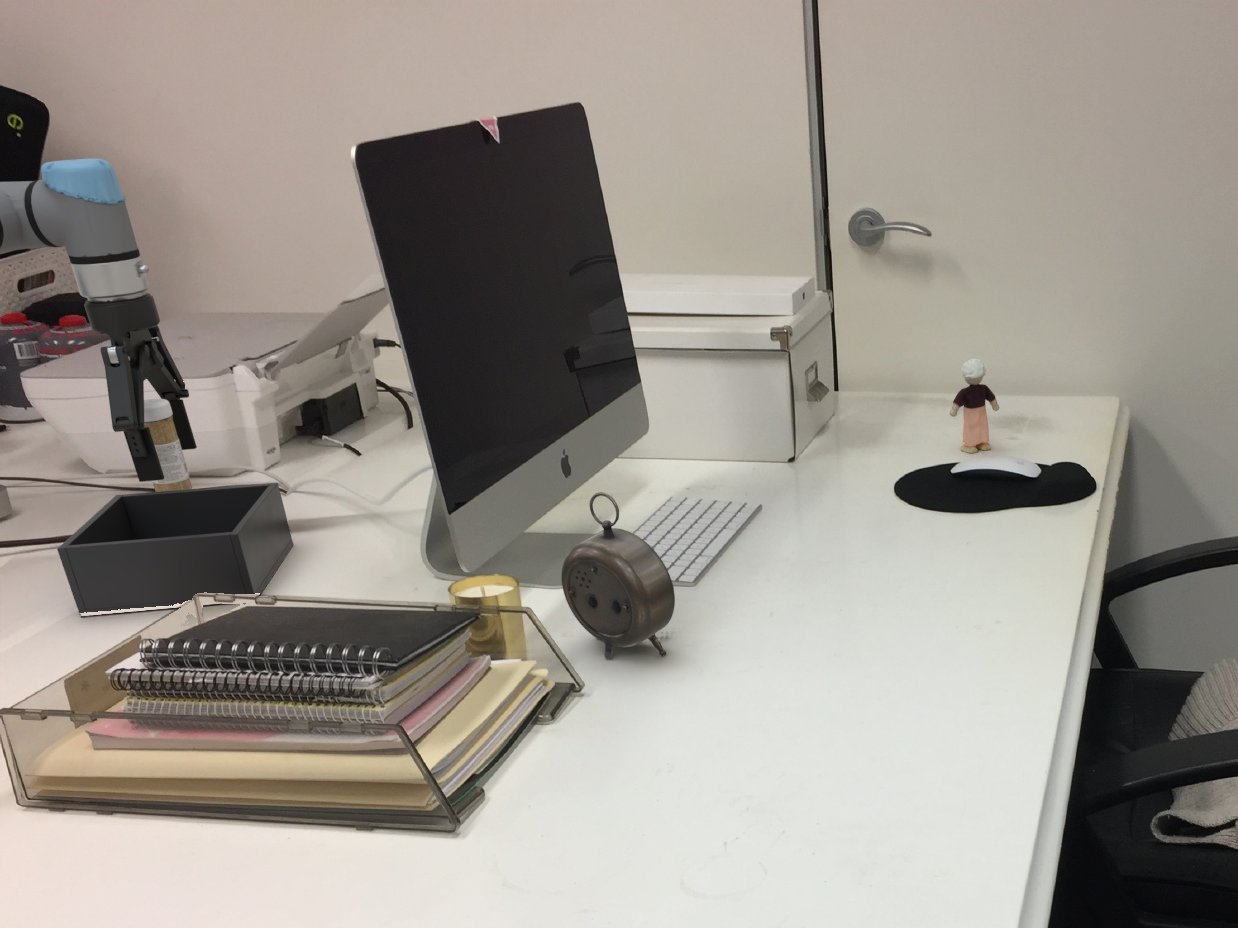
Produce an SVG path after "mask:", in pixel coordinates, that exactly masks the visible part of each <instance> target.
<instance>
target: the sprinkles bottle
mask: <svg viewBox="0 0 1238 928" xmlns="http://www.w3.org/2000/svg"><path fill="white" fill-rule="evenodd" d="M172 414H173V413H172V409H171V406H170V403H169V401H167V400H165V399H161V398H150V399H144V425H145V426H144V427H149V429H150V433H151V436H152V439H153V442H154V445H155V449H156V452H157V455H158V458H159V462H160V465H161V468H162V471H163V474H164V479H163V480H154V481H151V482H152V485H153V488H154V492H162V491H174V490H187V489H193V486H192V482H191V479H190V473H189V469H188V467H187V462H186V459H185V455H184V452H183V450H182V448H181V445H180V441H179V438H178V436H177V433H176V429H175V426H174V422H173V419H172V418H173V416H172Z"/></svg>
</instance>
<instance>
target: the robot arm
mask: <svg viewBox="0 0 1238 928" xmlns="http://www.w3.org/2000/svg"><path fill="white" fill-rule="evenodd" d="M40 171H41V179H39V180H38V179H36V180H33V181H32V180H26V181H23V180H21V181H0V255H3V254H6V253H11V252H14V251H20V250H26V249H28V250H29V249H43V248H63V247H64V248H65V251H66V253H67V256H68V259H69V262H70V266H71V270H72V272H73V276H74V279H75V282H76V286H77V289H78V292H79V295H80V296H81V297H82V298H85V299H86V300H85V303H84V304H83V306H84V309H85V312H86V316H87V318H88V322H89V324H90V328H91V330H92V331H93V332H94V333H97V334H105V335H107V336H109V340H110V346H101V347H100V355H101V358H102V362H103V366H104V371H105V380H106V387H107V395H108V402H109V409H110V410H109V411H110V418H111V427H112V430H113V431H114V433H121V432H123V434H124V437H125V441H126V444H127V448H128V450H129V453H130V456H131V460H132V464H133V466H134V469H135V473H136V475H137V478H138V481H139V483H140V482H142V483H143V482H152V481H154V480H163V479H164V474H163V471H162V468H161V465H160V462H159V458H158V455H157V452H156V449H155V445H154V442H153V439H152V436H151V433H150V429H149V427H144V426H145V425H144V400H145V387H144V384H145V383H144V382H145V381H146V380H147V381H148V383H149V384H150V385H151V386H152V388H153V389H154V391H155V392H156V394H157V395H158V396H159V397H160V399H165V400H167V401H169V403H170V406H171V409H172V413H173V414H172V416H173V418H172V419H173V422H174V426H175V429H176V433H177V436H178V438H179V441H180V445H181V448H182V451H187V450H196V449H197V448H198V446H197V443H196V440H195V436H194V432H193V430H192V426H191V423H190V420H189V417H188V412H187V409H186V405H185V403H184V399H186V398H189V397H190V391H189V389H188V388H186V389H185V385H186V383H185V381H184V378H183V377H182V374H181V373H180V371H179V369H178V367H177V365H176V363H175V360H174V359H173V357H172V354H171V353H170V351H169V349H168V347H167V345H166V343H165V341H164V339H163V336H162V333H161V330H160V327H159V324H160V322H161V318H160V315H159V311H158V308H157V305H156V302H155V298H154V296H153V295H151V293H149V292H146V291H148V290H149V288H150V284H149V283H150V282H149V279H148V276H147V273H149V271H150V269H149V266H148V265H147V264H144V263H143V260H142V256H141V253H140V249H139V247H138V244H137V241H136V240H137V239H136V236H135V233H134V230H133V225H132V222H131V219H130V215H129V211H128V207H127V204H126V200H127V199H126V196H125V195H124V193H123V190H122V188H121V185H120V183H119V180H118V177H117V174H116V172H115V171H116V170H115V168H114V167H113V165H112V164H111V163H110V162H109V161H108V160H105V159H103V158H77V159H62V160H54V161H53V160H52V161H47V162H44V163H43V164H42V165H41V167H40ZM183 381H184V382H183Z"/></svg>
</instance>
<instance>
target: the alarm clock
mask: <svg viewBox="0 0 1238 928" xmlns="http://www.w3.org/2000/svg"><path fill="white" fill-rule="evenodd" d="M597 497H605V498H607V499H608V500H609V501H610V502H611V504H612V505H613V507H614V509H615V519H614V521H613V522H612V521H611V520H609V519H606V520H604V521H601V520H600V519H599V518H598V517H597V515H596V513H595V511H594V501H595V500H596V498H597ZM589 511H590V513H591V516H592V517H593V519H594V520H595V522H597V523H598V524H599V525H601V528H602V529H603V530H600V531H599V532H597V533H596V534H594V535H592V536H590V537H588V538H587V539H585V540H583V541H580V542H579V543H578V544H576V545H574V546H573V547H572V548H570V550H569V552H567V554H566V555H565V558H564V560H563V563H562V568H561V586H562V591H563V594H564V598H565V601H566V603H567V605H568V607H569V609H570V611H571V613H572V614H573V616H574V617H575V619H576V620H577V621H578V623H579V624H580V625H581V626H582V627H583V628H584V630H585V631H587V632H588V633H589V634H590V635H592V636H593V637H594V638H595V639H597V640H599V641H600V642H602V643H603V644H605V645H604V654H603V655H604V658H605V659H606V660H609V659H610V658H611V653H612V649H613V647H616V648H632V647H634V646H636V645H637V646H638V645H639V644H641V643H642V642H644V641H645V640H649V642H650V643H651V644H652V645H653V647H654V648H655V649H656V650H657V651H658V654H659V656H660V655H664V656H666V655H667V651H666V650H664V648H663V646H662V642H661V641H660V640H659V639H658V637H657V635H656V633H658V632H659V631H661V630H663V629H664V628H665V627H667V625H668V624H669V623H670V622H671V620H672V618H673V615H674V611H675V606H676V594H675V588H674V584H673V580H672V578H671V575H670V572H669V570H668V568H667V566H666V564H665V563H664V561H663V559H662V558H661V557H660V556H659V554H658V553H657V552H656V550H655V549H654V548H653V547H652V546H651V545H650V544H649V543H647V541H645V540H644V539H643V538H641V537H640V536H639V535H637V534H635V533H633V532H631V531H629V530H626V529H624V528H623V529H622V528H617V527H614V526H615V525H616V524H617V522H618V521H619V520H620V519H619V518H620V508H619V505H618V503H617V501H616V500H615V499H614V497H613V496H611V495H610V494H609V493H606V492H603V491H599V492H595V493H594V494H593V495H592V496H591V498H590V500H589Z"/></svg>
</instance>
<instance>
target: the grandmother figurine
mask: <svg viewBox="0 0 1238 928" xmlns="http://www.w3.org/2000/svg"><path fill="white" fill-rule="evenodd" d="M986 372H987V369H986V367H985V365H984V363H983V362H982V360H981V359H979V358H970V359H968V360H966V361H965V362H964V363H963V364H962V367H961V372H960V373H961V374H962V378H963V379H964V381H965V382H966V383H967V384H968V386H966V387H964V388H961V389H960V390H959V391H958V392H957V394H956V395H955V397H954V398H953V401H952V405H951V410H950V411H949V415H950V416H951V417H953V418H954V417H955V418H956V416H957V415H958V411H959V410H960V409H961V408H962V407H963V409H962V411H963V412H962V413H963V427H962V442H963V444H962V446H961V447H960V451H961V452H965V453H967V454H975V453H978V452H979V450H981V451H988V450H991V449H992V448H991V445H990V430H989V429H990V428H989V421H988V414H987V408H986V407H987V406H986V401H988V403H989V404H990V406H991V408H992V410H993V411H994V412H997V411H999V410H1000V405H999V404H998V400H997V397H996V395H995V394H994V392H993V391H992V390H991V389H990V387H989V386H988V385H987V384H983V383H982V381H983V378H984V376H986Z"/></svg>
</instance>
